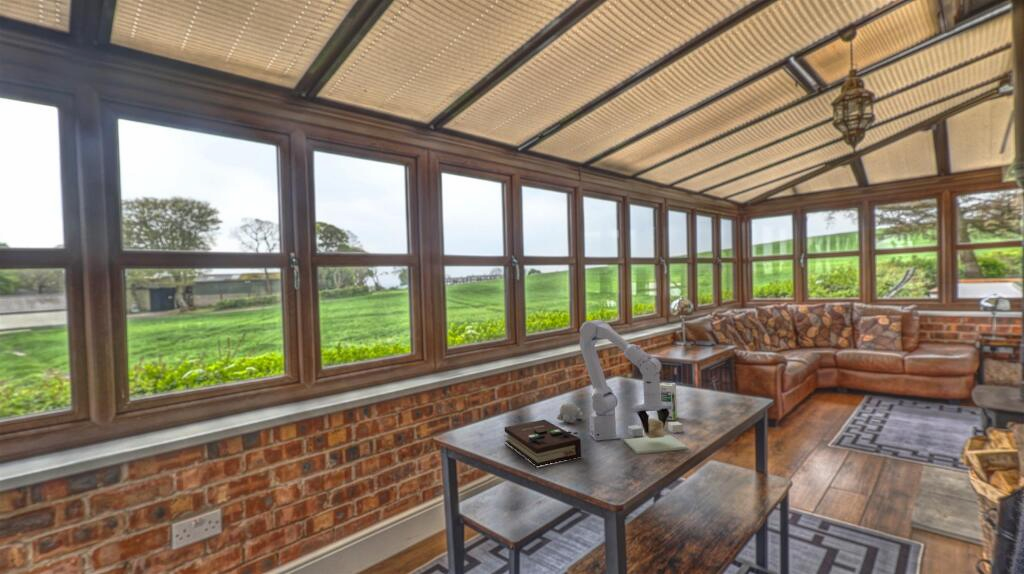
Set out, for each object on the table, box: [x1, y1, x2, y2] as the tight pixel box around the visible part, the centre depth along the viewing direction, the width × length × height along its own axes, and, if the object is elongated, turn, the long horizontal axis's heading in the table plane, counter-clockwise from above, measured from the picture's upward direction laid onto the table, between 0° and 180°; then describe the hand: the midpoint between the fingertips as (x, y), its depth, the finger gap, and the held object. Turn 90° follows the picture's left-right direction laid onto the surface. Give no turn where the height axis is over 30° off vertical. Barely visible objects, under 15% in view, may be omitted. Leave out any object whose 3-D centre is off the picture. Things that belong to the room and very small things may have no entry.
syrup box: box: [660, 382, 678, 422], centre depth 188 cm, size 6×6×14 cm
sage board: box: [622, 434, 688, 455], centre depth 159 cm, size 18×12×1 cm, turn 97°
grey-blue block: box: [627, 424, 644, 438], centre depth 170 cm, size 4×4×3 cm
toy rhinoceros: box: [556, 401, 583, 424], centre depth 190 cm, size 7×12×8 cm, turn 125°
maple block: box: [643, 418, 665, 438], centre depth 159 cm, size 5×5×5 cm
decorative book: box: [504, 419, 582, 466], centre depth 159 cm, size 19×8×30 cm
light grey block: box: [667, 420, 684, 434], centre depth 172 cm, size 4×4×3 cm
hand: (653, 431), depth 159 cm, fingers closed on maple block, 5 cm apart
